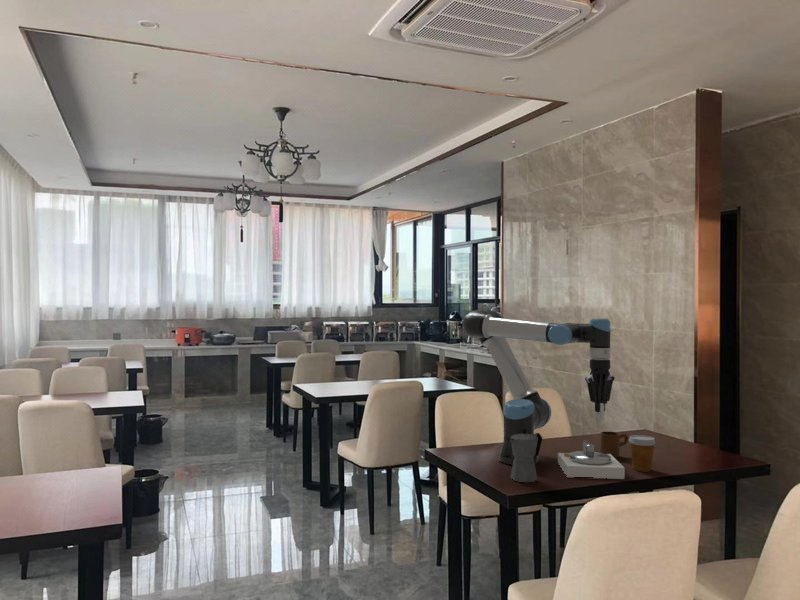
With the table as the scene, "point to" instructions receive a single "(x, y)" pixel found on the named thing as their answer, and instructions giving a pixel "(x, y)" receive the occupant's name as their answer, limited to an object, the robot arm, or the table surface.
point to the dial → (589, 455)
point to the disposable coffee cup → (642, 452)
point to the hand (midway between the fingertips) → (599, 420)
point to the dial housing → (591, 468)
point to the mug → (612, 443)
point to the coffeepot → (525, 456)
